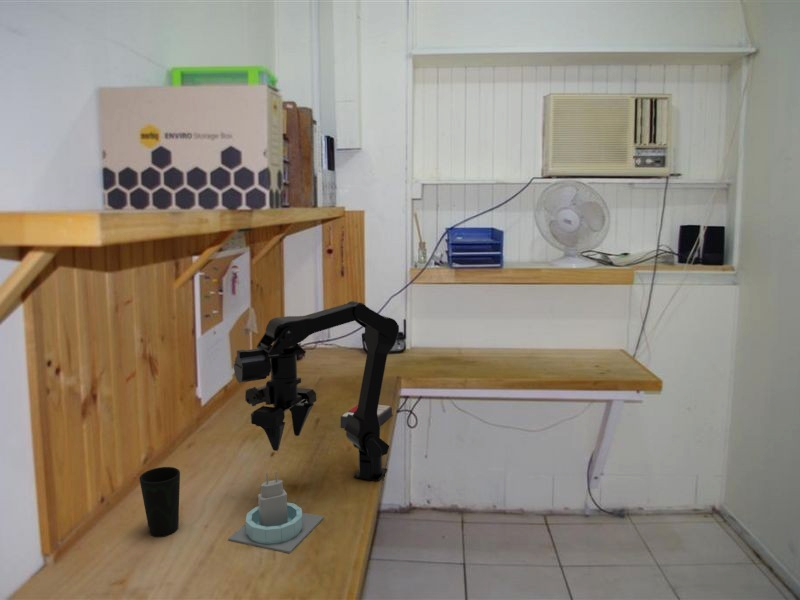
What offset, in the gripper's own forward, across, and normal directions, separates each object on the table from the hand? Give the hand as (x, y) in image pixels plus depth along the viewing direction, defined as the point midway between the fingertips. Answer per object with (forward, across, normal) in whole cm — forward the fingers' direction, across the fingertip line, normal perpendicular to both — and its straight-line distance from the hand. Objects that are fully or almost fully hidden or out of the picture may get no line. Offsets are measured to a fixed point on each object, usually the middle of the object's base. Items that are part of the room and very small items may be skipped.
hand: (286, 442), depth 139 cm
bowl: (+13, +14, +5) cm, 19 cm away
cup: (+13, +21, -17) cm, 30 cm away
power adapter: (+12, +14, +5) cm, 19 cm away
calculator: (+14, -51, -3) cm, 53 cm away
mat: (+13, +13, +5) cm, 19 cm away
